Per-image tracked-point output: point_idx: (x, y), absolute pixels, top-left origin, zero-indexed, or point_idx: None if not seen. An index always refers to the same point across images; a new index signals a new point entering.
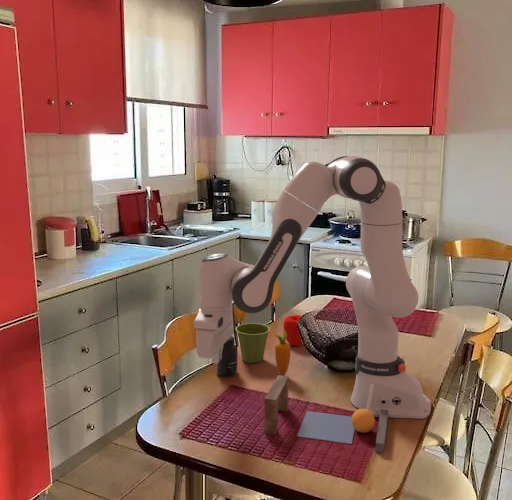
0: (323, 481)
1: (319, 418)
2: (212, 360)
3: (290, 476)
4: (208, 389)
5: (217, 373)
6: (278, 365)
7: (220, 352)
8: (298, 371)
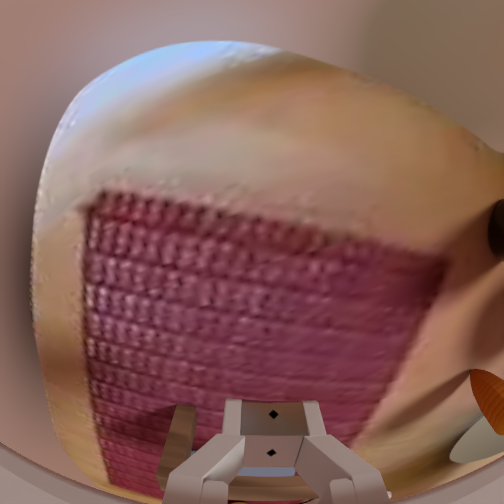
0: (87, 457)
1: (270, 472)
2: (225, 411)
3: (72, 428)
4: (418, 193)
5: (499, 203)
6: (483, 385)
7: (304, 476)
8: None
